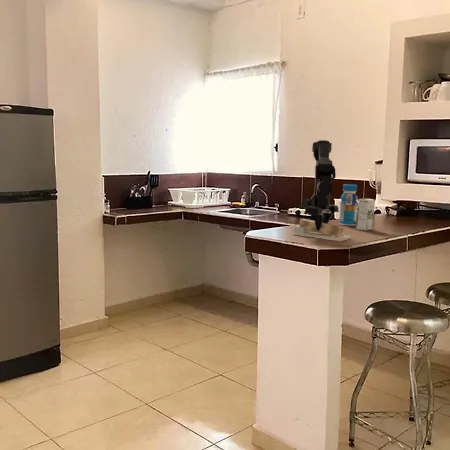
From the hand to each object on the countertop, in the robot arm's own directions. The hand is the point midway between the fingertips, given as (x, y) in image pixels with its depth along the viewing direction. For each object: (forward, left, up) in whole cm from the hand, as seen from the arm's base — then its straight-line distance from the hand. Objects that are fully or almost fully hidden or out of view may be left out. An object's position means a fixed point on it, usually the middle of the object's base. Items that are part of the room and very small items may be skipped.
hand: (320, 229), depth 233 cm
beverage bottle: (-45, -10, -3) cm, 46 cm away
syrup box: (-36, +3, -3) cm, 36 cm away
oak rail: (0, 0, -1) cm, 1 cm away
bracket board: (0, 0, -3) cm, 3 cm away
